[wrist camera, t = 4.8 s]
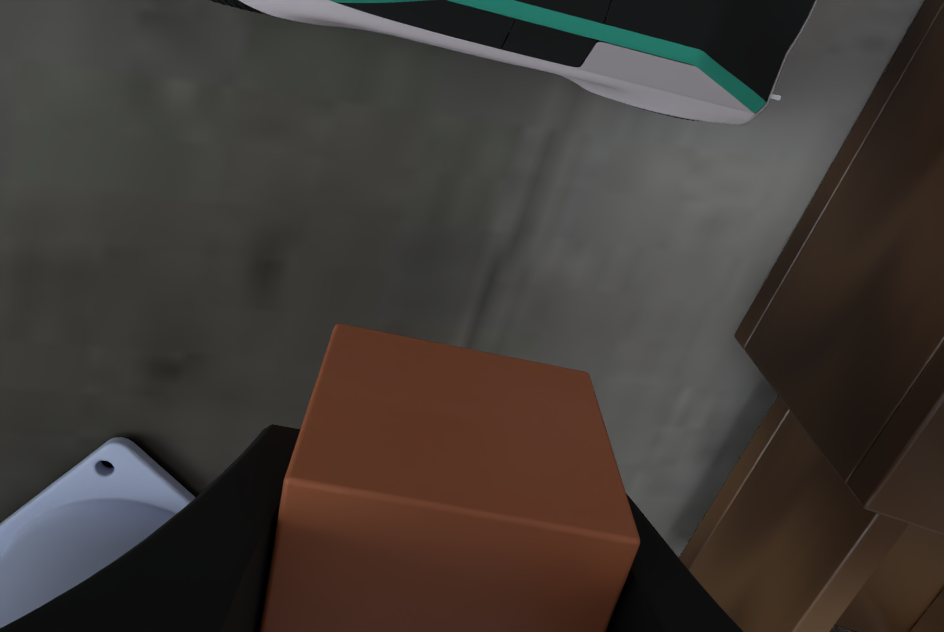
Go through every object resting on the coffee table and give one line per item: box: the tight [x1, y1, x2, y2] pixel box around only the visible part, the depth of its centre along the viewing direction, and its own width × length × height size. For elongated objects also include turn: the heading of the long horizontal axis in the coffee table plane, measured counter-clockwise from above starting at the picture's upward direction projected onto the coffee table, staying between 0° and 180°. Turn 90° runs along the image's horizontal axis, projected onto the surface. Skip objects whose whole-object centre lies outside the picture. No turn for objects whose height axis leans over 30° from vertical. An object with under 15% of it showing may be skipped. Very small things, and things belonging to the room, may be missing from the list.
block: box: [260, 324, 640, 632], centre depth 11 cm, size 4×4×4 cm
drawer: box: [679, 395, 944, 632], centre depth 21 cm, size 18×9×6 cm, turn 159°
